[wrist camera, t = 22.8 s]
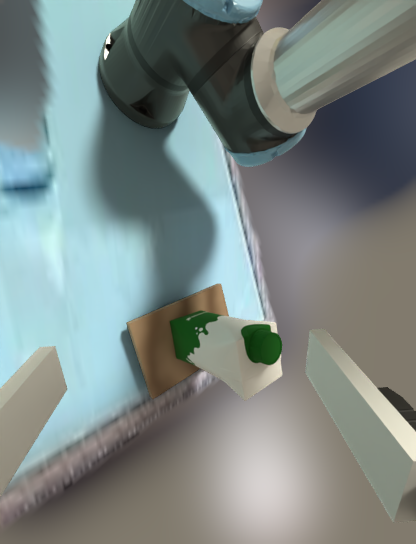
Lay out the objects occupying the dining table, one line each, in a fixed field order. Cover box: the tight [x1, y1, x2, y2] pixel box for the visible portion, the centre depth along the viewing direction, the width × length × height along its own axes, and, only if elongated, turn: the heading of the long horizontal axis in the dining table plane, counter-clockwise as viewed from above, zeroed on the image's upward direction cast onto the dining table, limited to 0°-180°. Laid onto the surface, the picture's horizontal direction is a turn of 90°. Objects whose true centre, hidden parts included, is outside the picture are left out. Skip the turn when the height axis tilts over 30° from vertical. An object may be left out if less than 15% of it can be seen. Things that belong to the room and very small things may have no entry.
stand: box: [127, 284, 229, 399], centre depth 49 cm, size 20×14×3 cm
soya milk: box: [170, 310, 282, 401], centre depth 39 cm, size 9×9×20 cm
